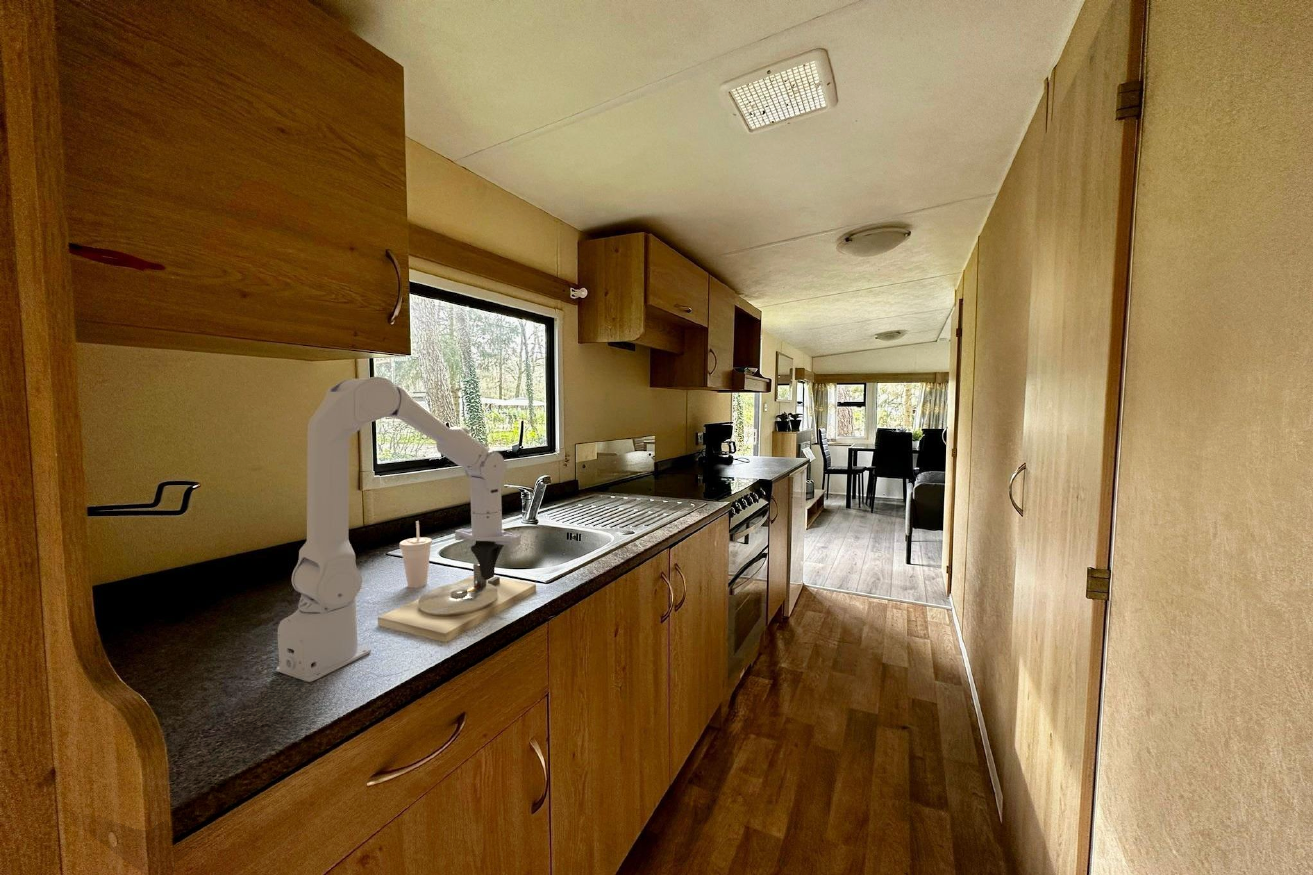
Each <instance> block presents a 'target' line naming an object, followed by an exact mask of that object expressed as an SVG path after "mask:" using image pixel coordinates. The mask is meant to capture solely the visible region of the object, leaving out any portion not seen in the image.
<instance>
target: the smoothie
mask: <svg viewBox="0 0 1313 875" xmlns="http://www.w3.org/2000/svg"><path fill="white" fill-rule="evenodd" d="M415 528H416V533H415V534H416V537H413V538H407V539H404V540H402V541H400V542H399V549H401V555H402V560H403V566H404V572H405V576H406V577H405V578H406V582H407V583H406V584H407V587H408V588H410V589H417V588H422V587H424V586H427V584H428V577H429V576H428V574H429V566H430V556H431V555H430V554H431V546H432V545H433V539H432V538H431V537H425V536H424V537H423V536H422V537H421V536H420V521H419V520H417V521H415Z"/></svg>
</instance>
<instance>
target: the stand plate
mask: <svg viewBox="0 0 1313 875" xmlns="http://www.w3.org/2000/svg"><path fill="white" fill-rule="evenodd" d="M486 581H487V583H488V584H491V585H494V586H495V587H496V588H497V590H498V597H497V599H496V601H495V602H493V603H492V604H491V605H489V606H487V607H485V608H483V609H480V610H477V611H474V612H470V613H466V614H461V615H453V616H435V615H429V614H425V613H423V612H422V611H420V609H419V598H417V599H415V600H414V601H411V602H409V603H406V604H405V605H402V606H400V607H398V608H397V607H396V608H395V609H394V610H391V611H389V612H387V613H384V614H382V615H380V616H378V617H377V626H380V627H383V628H387V629H390V630H391V629H392V630H394V631H399V632H402V633H403V632H404V633H407V634H411V635H414V636H419V637H424V638H427V639H431V640H435V641H437V642H438V641H439V642H443V643H447V642H449V641H450V640H453V639H454V638H456V637H458V636H459V635H461V634H463V633H465V632H466V631H468V630H471V629H472V628H474V627H476V626H477V625H479V624H480V623H483V622H484V621H486V620H488V619H490V618H491V617H493V616H494V615H497V614H499V613H500V612H502V611H503V610H505V609H507V608H509V607H511V606H512V605H515V604H516V603H518V602H520V601H521V600H524V599H525V598H527V597H528V596H530V595H532V594H534V593H536V592H537V585H536V583H531V582H526V581H521V580H520V581H519V580H513V579H507V578H502V577H500V576H494V577H492V578H490V579H488V580H486ZM462 582H474V574H473V575H471V576H469V577H467V578H464V579H462V580H459V581H458V582H456V583H462Z"/></svg>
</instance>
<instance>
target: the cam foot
mask: <svg viewBox="0 0 1313 875" xmlns="http://www.w3.org/2000/svg"><path fill="white" fill-rule="evenodd" d="M473 575H474V582H462V583H457V582H455V583H450V584H445V585H441V586H439V587H436V588H432V589H431V590H428V591H426V592H424V593H423V594H422V595H421V596H420V597H419V598H418V599H419V609H420V611H422V612H423V613H425V614H429V615H435V616H453V615H461V614H466V613H470V612H474V611H477V610H480V609H483V608H485V607H487V606H489V605H491V604H492V603H493V602H495V601H496V599H497V597H498V590H497V588H496V587H495V586H494V585H491V584H488V583H487V581H486V580H483V576H482V570H481V567H480V565H479V562H476V563H473Z"/></svg>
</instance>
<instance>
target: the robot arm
mask: <svg viewBox="0 0 1313 875" xmlns="http://www.w3.org/2000/svg"><path fill="white" fill-rule="evenodd" d="M384 418H393V419H398V420H400V421H401V422H403V423H405V424H406V425H408V426H410V427H412V428H413V429H414V430H416V431H418V432H420V433H421V434H422V435H424V436H426V437H428V438H429V439H431V440H433V442H435V443H436V450H437V452H438V453H439V454H441V455H442V456H444V457H445V458H446V459H448V460H450V461H451V462H453V463H454V464H456V465H457V466H459V467H460V468H462V469H463V473H464V474H465V476H467V477H469V484H470V485H469V486H470V516H471V517H470V518H471V520H470V521H471V522H470V523H471V528H460V529H457V530H454V539H455V541H468V542H469V541H470V542H474V544H473V545H471V546H470V551H471V552H472V554H473V555H474V557H475V558H476V560H477V563H479V565H480V567H481V570H482V576H483V580H488V579H490V578H492V577H495V567H496V564H497V560H498V558H499V556H500V553H501V551H502V549H503V547H504V546H510V548H516V547H518V546H520V545H521V534H516V533H512V532H510V531H505V530H504V528H503V519H502V518H503V515H502V513H503V512H502V511H503V510H502V509H503V508H502V486H503V479H504V476H505V475H506V473H507V470H508V464H507V463H506V461H505V459H504V456H503V455H502V454H501V453H500V452H499V451H495V450H494V451H493V450H489V449H488V447H487V446H488V444H486V443H484V442H481V441H478V440H477V439H476V438H475V437H473V436H472V435H470V433H471V431H470V430H469V429H468V428H466V427H459V426H453V427H448V426H447V425H446V424H445V423H444V422H443V421H441V420H439V418H437V417H436V415H434V414H433V413H431V411H429V410H428V409H426V408H425V407H424V406H422V404H420V403H419V402H418V401H416V400H415V399H414V398H413V397H412V396H411V395H410V393H408V392H407V391H406V390H405V389H404V388H403V387H400V386H397V385H396V384H395V383H394V382H393V381H391V380H390V379H388V378H386V377H383V376H372V377H366V378H364V377H363V378H355V377H353V378H346V379H343V380H341V381H340V382H338V383H336V384H334V385H333V386H331V387H329V388H328V389H327V390H326V395H325V396H324V399H323V400H322V402H321V403H320V405H319V406H318V407H317V409H316V410H315V412H314V413H313V415H312V416H311V418H310V419H309V420H308V423H307V424H308V425H307V440H306V441H307V444H306V445H307V449H306V450H307V453H306V454H307V455H306V457H307V458H306V460H307V461H306V462H307V465H306V466H307V467H306V470H307V474H306V478H307V480H306V492H307V493H306V541H305V543H304V544H303V545H302V546H301V547H300V549H299V550H298V560H297V563H296V565H295V567H294V569H293V571H292V574H291V584H292V587H293V588H294V590H295V591H296V592H298V593H300V599H299V602H298V608H297V609H296V611H295V612H293V613H292V614H291V615H289V616H287V617H285V618H283V619H282V620H280V622H279V624H278V627H277V650H278V665H279V666H277V667H276V672H279V673H282V674H285V675H286V676H291V677H292V678H295V679H298V680H299V679H300V680H302V681H304V682H308V683H311V682H314V681H315V680H316V681H317V680H318V679H320V678H322V677H325V676H326V675H329V674H330V673H332V672H334V671H336V670H338V669H340V668H342V667H344V666H345V665H348V664H350V663H352V662H355V661H356V660H358V659H360V658H362V657H364V656H366V655H368V654H370V653H371V652H372V648H369V647H367V646H363V645H359V643H358V626H357V625H358V622H357V620H358V619H357V603H356V601H357V600H356V597H357V596H358V595H359V592H360V591H361V588H362V584H363V577H362V573H361V571H359V569H358V567H357V564H356V553H355V551H354V549H353V547H352V544H351V543H350V540H349V525H350V524H349V522H350V521H349V514H350V513H349V512H350V511H349V510H350V509H349V506H350V504H349V502H350V501H349V500H350V499H349V498H350V497H349V496H350V493H349V492H350V438H351V436H353V435H355V434H356V433H357V432H359V431H360V430H361V429H363V428H364V427H365V426H366V425H367V424H370V423H372V422H376V421H379V420H381V419H384Z"/></svg>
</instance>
